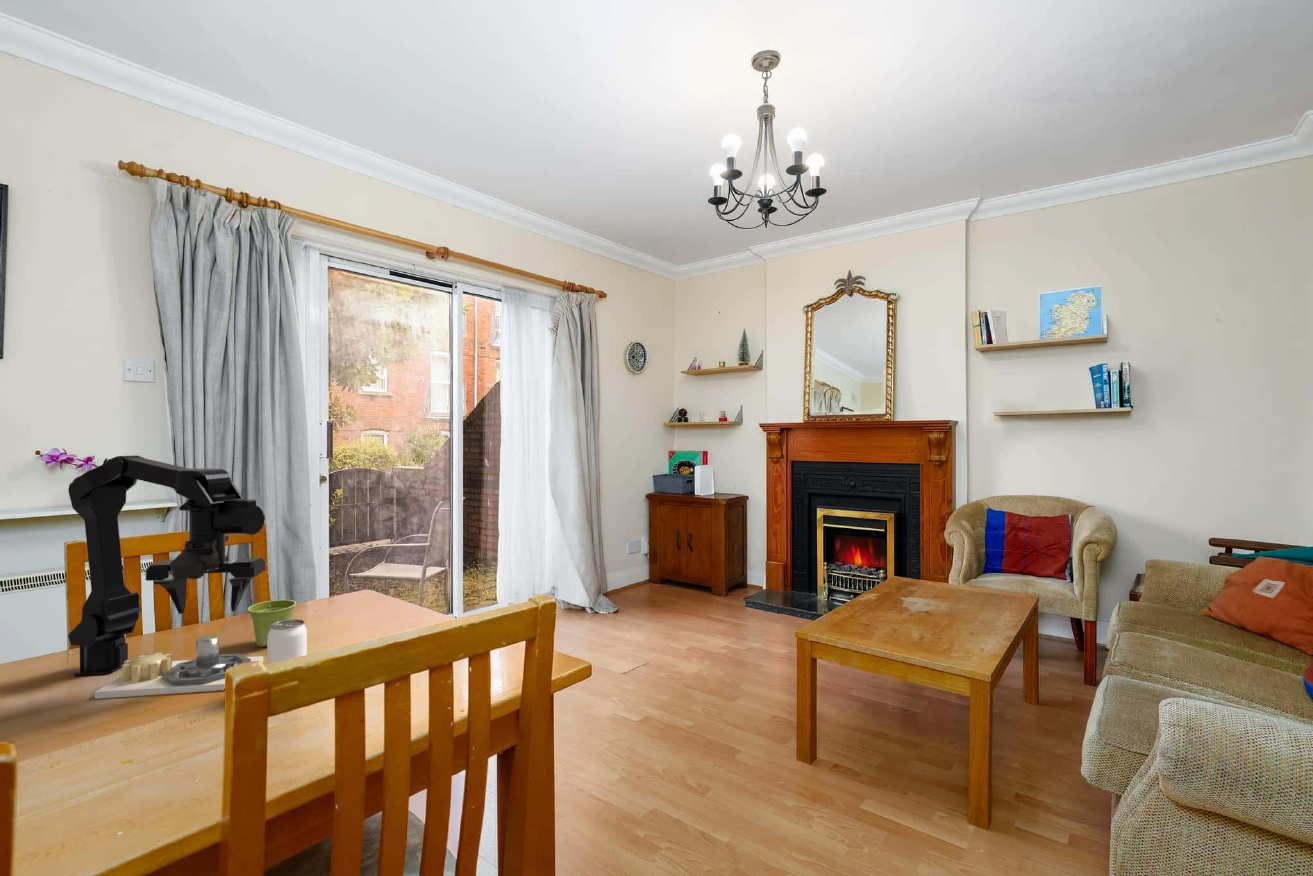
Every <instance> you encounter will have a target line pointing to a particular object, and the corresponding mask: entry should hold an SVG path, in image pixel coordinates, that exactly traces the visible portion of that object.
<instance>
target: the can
mask: <svg viewBox="0 0 1313 876" xmlns="http://www.w3.org/2000/svg"><path fill="white" fill-rule="evenodd" d="M270 628H271V629H270V631H269V633H268V638H267V646H266V647H267V648H266V651H267V653H266V655H267V664H269V663H274V662H276V661H282V660H288V659H291V658H297V657H300V656H305V655H307V656H308V629H307V627H306V625H305V621H304V620H303V619H299V618H298V619H291V620H285V621H280V622H276V623H274V624H272V625H271V626H270Z"/></svg>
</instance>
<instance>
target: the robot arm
mask: <svg viewBox="0 0 1313 876" xmlns="http://www.w3.org/2000/svg"><path fill="white" fill-rule="evenodd" d="M137 481H142V482H146V483H151V484H155V485H160V486H163V487H168V488H170V489H173V490H174V491H175V493H176V494H178V495H179V496H181V497H183V498H186V499H187V500H186V501H185V502H184V503H183V504H182V505H180V506H179V507H178V509H179V511H186V512H187V511H188V531H189V534H188V535H189V537H188V538H189V540H185V543H184V549H183V552H181V553H180V554H178V555H176V557H175V558H174V559H165V560H161V561H159V562H155V563H152V564H149V566H148V567H147V568H146V570H145V581H148V582H149V581H150V582H151V581H153V584H154V585H159V586H161V587H162V588H164V589H165V590H166V592H167V593H168V594H169V596H170V599H171V600H172V603H173V604H174V606H175V609H176V610H177V612H178V614H179V615H181V614H184V613H185V610H186V604H187V601H186V600H187V587H188V586H187V585H188V582H187V581H188V580H189V579H191V580H197V579H200V578H203V577H204V575H205V574H224V573H225V574H226V573H229V574H231V576H232V577H231V578H230V579H229V580H228V582H229V583H230V586H231V591H230V594H231V597H230V610H231V612H235V611H236V610H237V609H238V607H239V604H240V602H241V600H242V598H243V596H244V594H245V591H246V589H247V588H248V585H249V584H250V582H251V581H252V579H253V578H256V577H258V576H259V575H260V574H262V573H263V572H265V571H266V568H267V567H266V565H267V564H266V561H265V559H264V558H263V557H243V558H241V559H239V560H236V561H234V562H229V555H226V542H228V541H229V538H230V537H229V535H244V536H246V535H248V536H254V535H256V534H259V532H260V531H261V530H262V529H263V527H264V525H265V521H266V517H265V516H266V515H265V514H264V511H263V510H262V508H261V507H260V506H258V505H257V500H256V499H255V498H253V499H251V498H250V499H245V498H244V497H243V495H242V493H241V492H240V491H239V489H238V488H237V486H236V485H235V484H234V482H233V480H232V479H231V477H230V475H229V472H228V471H227V470H225V469H222V468H192V467H191V468H190V467H189V468H188V467H184V466H179V465H175V464H170V463H166V462H162V461H157V460H153V459H149V458H145V457H143V456H141V455H140V456H139V455H137V454H136V455H117V456H114V457H112V458H110V459H109V460H107V462H105V463H103V464H101V465H99V466H96V467H94V468H92V469H90V470H87V471H85V472H84V473H82V475H80V476H76V477H75V478H74V479H73V481H72V482H70V483H69V485H68V495H69V499H70V502H71V507H72V509H73V510H74V511H75V513H76V514H78V516H80V517H81V518H82V519H83V521H84V529H85V538H86V548H87V550H86V551H87V559H88V569H89V570H88V571H89V579H90V588H91V590H90V593H89V595H88V596H87V598H86V600H85V602H84V604H83V605H82V609H81V621H79V623H77V625H76V626H75V627H74V628H73V629H72V630H71V632H70V633H68V636H67V637H68V640H69V643H70V645H71V646H76V647H79V670H76V671H75V672H73V676H88V675H91V676H93V675H108V674H112V673H114V672H116V671H117V670H119V669H122V665H124V662H125V661H126V660H131V659H129V657H128V656H129V648H128V647H129V644H128V642H126V635H128V634H132V633H134V630H135V626H136V624H137V622H138V620H139V618H140V612H142V608H141V607H140V595H139V593H138V592H137V591H136V592H133V593H132V592H131V591H130V589H128V588H127V587H126V586H125V578H124V569H123V557H122V547H121V537H120V528H119V515H120V513H121V511H122V510H123V508H124V506H125V504H126V503H127V491H129V490H130V489H132V488H133V487H134V486H136V484H137Z"/></svg>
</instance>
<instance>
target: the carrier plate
mask: <svg viewBox="0 0 1313 876" xmlns="http://www.w3.org/2000/svg"><path fill="white" fill-rule="evenodd" d="M221 655H222V657H226V658H229V657H235V665H240V664H243V663H249V662H251V661H260V662H261V664H262V663H264V655H261V656H260V655H259V656H245V655H243V654H242V653H227V654H226V653H225V654H224V653H223V654H219V656H221ZM195 661H196V658H195V659H190V660H189V659H188V660H185V659H184V660H173V656H172V653H167V654H163V652H155V653H154V654H148V655H146V654H142V655H138V656H137V657H136V658H133V659H130V660H129V659H128V660H126V661H125V662H124V665H122V667H121V676H119V677H118V678H116V679H114V680H112V681H111V682H110V683H107V684H105V685H104V686H102V687H101V688H99V689H97V690H96V691H94V700H95V699H110V698H123V697H124V698H126V697H139V696H140V697H141V696H156V695H157V696H158V695H171V694H172V695H173V694H175V695H176V694H187V693H188V694H189V693H201V692H202V693H204V692H216V691H219V690H220V692H221V691H225V690H224V685H225V672H226V671H225V672H221V673H218V674H214V675H210V676H207V677H195V678H179V671H180V666H182V665H183V664H190V663H192V662H195ZM235 665H234V666H235Z"/></svg>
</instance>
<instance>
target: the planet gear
mask: <svg viewBox="0 0 1313 876" xmlns="http://www.w3.org/2000/svg"><path fill="white" fill-rule="evenodd" d="M219 638H220V637H219V635H206V636H202V637H200V638H198V639H196V640H195V659H196V661H195V662H192V663H190V664H183V665H182V666H180V671H179V678H195V677H207V676H210V675H214V674H218V673H221V672H225V671H226V669H229V668H230V667H233V666H234V665H235V657H229V658H226V657H222V654H220V646H219V645H220V639H219ZM219 655H221V656H219Z"/></svg>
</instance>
